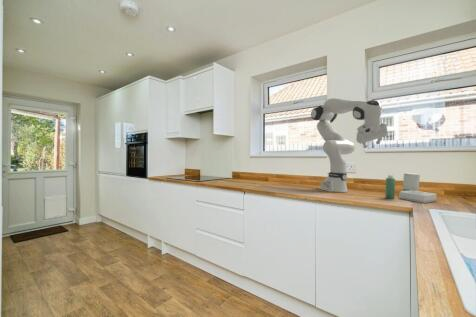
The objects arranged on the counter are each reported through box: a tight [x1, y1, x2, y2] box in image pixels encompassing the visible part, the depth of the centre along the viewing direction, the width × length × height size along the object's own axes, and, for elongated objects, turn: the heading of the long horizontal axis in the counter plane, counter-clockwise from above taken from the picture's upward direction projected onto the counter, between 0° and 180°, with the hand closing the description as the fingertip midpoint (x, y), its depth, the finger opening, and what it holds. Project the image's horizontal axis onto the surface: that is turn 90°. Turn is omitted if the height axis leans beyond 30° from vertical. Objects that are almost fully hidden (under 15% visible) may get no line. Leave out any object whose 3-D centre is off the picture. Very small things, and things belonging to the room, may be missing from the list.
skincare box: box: [402, 172, 421, 191], centre depth 161 cm, size 8×7×16 cm
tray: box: [398, 190, 438, 204], centre depth 146 cm, size 14×14×4 cm
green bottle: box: [384, 174, 396, 200], centre depth 149 cm, size 5×5×15 cm
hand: (371, 145), depth 152 cm, fingers open, 8 cm apart
